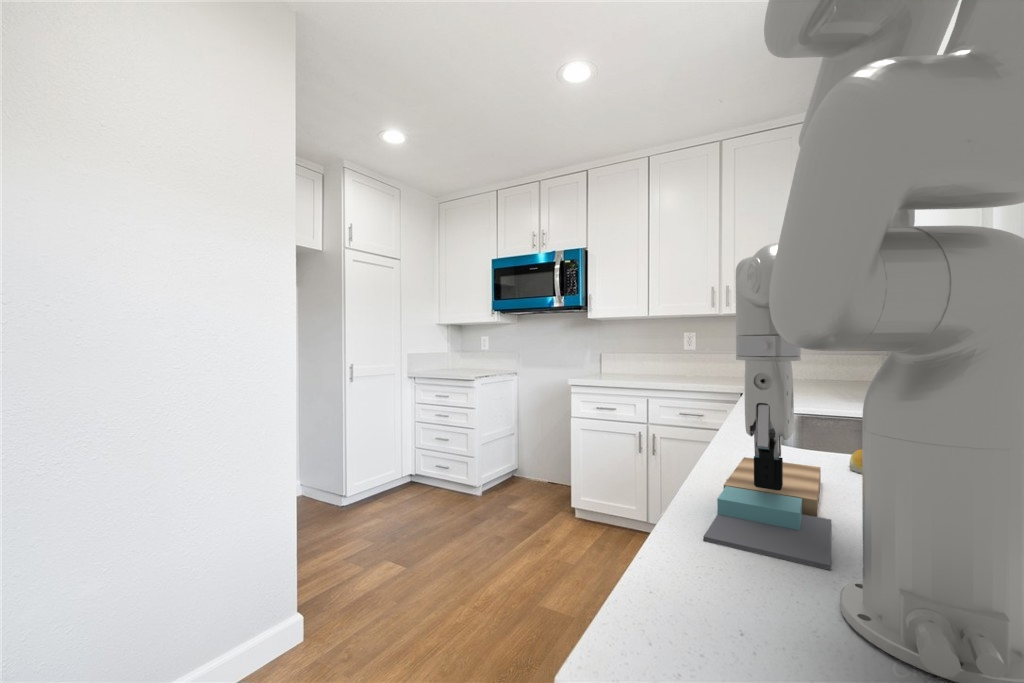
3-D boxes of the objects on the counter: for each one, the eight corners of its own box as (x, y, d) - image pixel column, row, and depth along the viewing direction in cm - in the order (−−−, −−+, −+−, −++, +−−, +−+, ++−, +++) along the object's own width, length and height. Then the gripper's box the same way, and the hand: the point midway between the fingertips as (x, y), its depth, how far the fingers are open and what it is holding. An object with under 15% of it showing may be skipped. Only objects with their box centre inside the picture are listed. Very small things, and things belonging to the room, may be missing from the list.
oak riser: (817, 519, 59) (817, 499, 59) (723, 502, 65) (723, 484, 65) (820, 482, 73) (820, 467, 73) (744, 471, 80) (744, 457, 80)
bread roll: (918, 484, 73) (918, 459, 73) (848, 474, 78) (848, 451, 78) (915, 472, 79) (915, 449, 79) (850, 464, 85) (850, 442, 85)
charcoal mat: (830, 570, 46) (830, 565, 46) (703, 540, 53) (703, 536, 53) (831, 523, 57) (831, 519, 57) (726, 504, 64) (726, 500, 64)
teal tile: (799, 530, 54) (799, 513, 54) (717, 514, 59) (717, 498, 59) (802, 514, 59) (802, 498, 59) (726, 500, 64) (725, 486, 64)
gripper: (796, 350, 53) (797, 510, 53) (804, 348, 65) (804, 478, 65) (725, 350, 57) (726, 497, 57) (745, 348, 70) (746, 469, 70)
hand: (768, 486), depth 61 cm, fingers closed
